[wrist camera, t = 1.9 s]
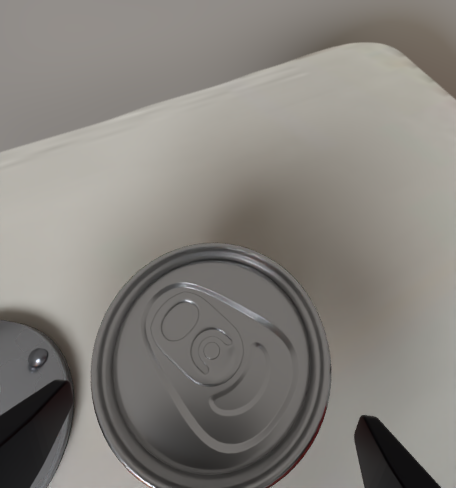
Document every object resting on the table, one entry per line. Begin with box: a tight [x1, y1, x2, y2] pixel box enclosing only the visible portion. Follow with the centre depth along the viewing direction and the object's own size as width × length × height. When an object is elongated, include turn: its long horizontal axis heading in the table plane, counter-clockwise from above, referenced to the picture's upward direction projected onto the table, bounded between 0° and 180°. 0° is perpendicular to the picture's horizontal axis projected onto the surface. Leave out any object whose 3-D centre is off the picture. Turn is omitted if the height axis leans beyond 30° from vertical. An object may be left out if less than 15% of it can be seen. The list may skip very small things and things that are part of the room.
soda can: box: [91, 243, 331, 488], centre depth 12 cm, size 7×7×12 cm
